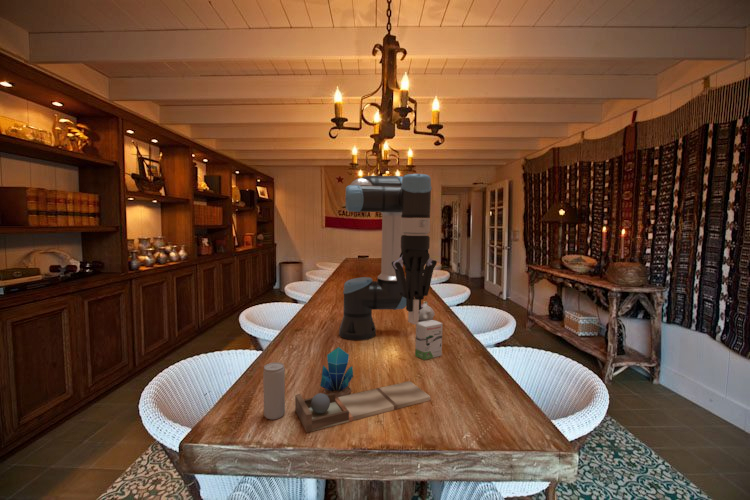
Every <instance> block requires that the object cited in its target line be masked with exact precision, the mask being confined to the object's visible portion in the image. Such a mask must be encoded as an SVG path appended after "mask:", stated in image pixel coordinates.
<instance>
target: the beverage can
mask: <svg viewBox="0 0 750 500" xmlns="http://www.w3.org/2000/svg"><path fill="white" fill-rule="evenodd" d="M285 369H286V368H285V365H284V363H282V362H270V363H267V364H265V365H264V366H263V373H262V374H263V377H262V379H263V416H264V417H265V419H268V420H270V421H271V420H272V421H273V420H277V419H280V418H282V417H283V416H284V415H285V413H286V412H285V411H286V408H285V407H286V402H285V401H286V399H285V395H286V392H285V391H286V388H285V387H286V386H285V384H286V383H285V381H286V380H285V379H286V377H285Z"/></svg>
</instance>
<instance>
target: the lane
mask: <svg viewBox="0 0 750 500" xmlns="http://www.w3.org/2000/svg"><path fill="white" fill-rule="evenodd" d="M294 395H295V399H294V400H295V401H294V406H295V413H296V415H297V416H298V418H299V421H300V423H301V425H302V427H303V429H304V430H305V433H306V434H307V433H312V432H315V431H319V430H323V429H326V428H330V427H335V426H338V425H341V424H346V423H349V422H350V423H351V422H353V421H357V420H361V419H365V418H369V417H372V416H376V415H378V414H379V415H380V414H383V413H387V412H392V411H395V410H399V409H402V408H406V407H410V406H413V405H417V404H421V403H422V404H423V403H425V402H429V401H431V398H432V397H431V396H430V395H429V394H428V393H426V392H425V391H424V390H422V389H421V387H419V386H417V385H416V384H414V382H412V381H410V380H409V381H403V382H400V383H395V384H391V385H386V386H382V387H378V388H377V387H376V388H373V389H368V390H365V391H359V392H355V393H354V392H353V393H350V394H349V395H346V396H341V397H337V398H335V393H331V394H326V395H327V396H328V397H329V400H330V406H329V408H328V410H327V411H326V412H324V413H321V414H319V413H316V412H314V411H313V409H312V407H311V401H312V398H313V397H309V398H305V399H304V398H303V396H302V395H301V393H299V394H294Z"/></svg>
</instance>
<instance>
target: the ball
mask: <svg viewBox="0 0 750 500" xmlns="http://www.w3.org/2000/svg"><path fill="white" fill-rule="evenodd" d="M311 398H312V401H311V407H312V409H313V411H314V412H316V413H319V414H321V413H324V412H326V411H327V410H328V408H329V406H330V400H329V397H328V396H327V395H326V394H324V392H319V393H316V394H315V395H314V396H313V397H311Z"/></svg>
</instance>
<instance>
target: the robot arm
mask: <svg viewBox="0 0 750 500" xmlns="http://www.w3.org/2000/svg"><path fill="white" fill-rule="evenodd" d="M431 180H432V178H431V176H430V175H429V174H424V173H408V174H405V175H404V176H399V175H365V176H361V177H359V178H358V177H357V178H356V179H354V180H353V181H351V182H350V184H349V185H347V186H346V187H345V210H346V211H347V212H352V213H353V212H355V213H381V214H382V215H381V216H382V218H381V219H382V221H381V223H382V224H381V226H382V227H381V265H380V268H381V269H380V271H381V272H380V274H378V275H377V277H376V278H377V280H374V281H373V278H372V277H369V276H368V277H366V276H363V277H362V276H361V277H355V278H351V279H348V280H346V281H345V282H344V284H343V292H342V294H343V317H342V318H341V319H342V320H341V323H340V326H339V327H338V328H339V330H338V335H339V336H340V338H342V339H346V340H350V341H351V340H352V341H363V340H369V339H373V338H375V337H376V333H377V329H376V325H375V322H374V319H373V314H372V313H373V312H372V311H373V310H380V311H381V310H393V311H394V310H403V309H405V310H406V312H408V315H407V317H408V318H407V320H408V321H407V322H408V323H410V324H412V325H416V324H418V322H420V320H419V310H421V305H422V301H424V297H427V296H428V295H429V291H430V286H431V283H432V279H433V274H434V269H435V267H436V266H437V263H438V262H437V260H436V259H435V260H434V259H432V258H431V257H430V253H429V249H430V243H431V242H430V241H431V240H430V239H431V238H430V236H429V235H428V234H430V231H431V199H432V197H431V195H432V190H433V189H432V181H431Z"/></svg>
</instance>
